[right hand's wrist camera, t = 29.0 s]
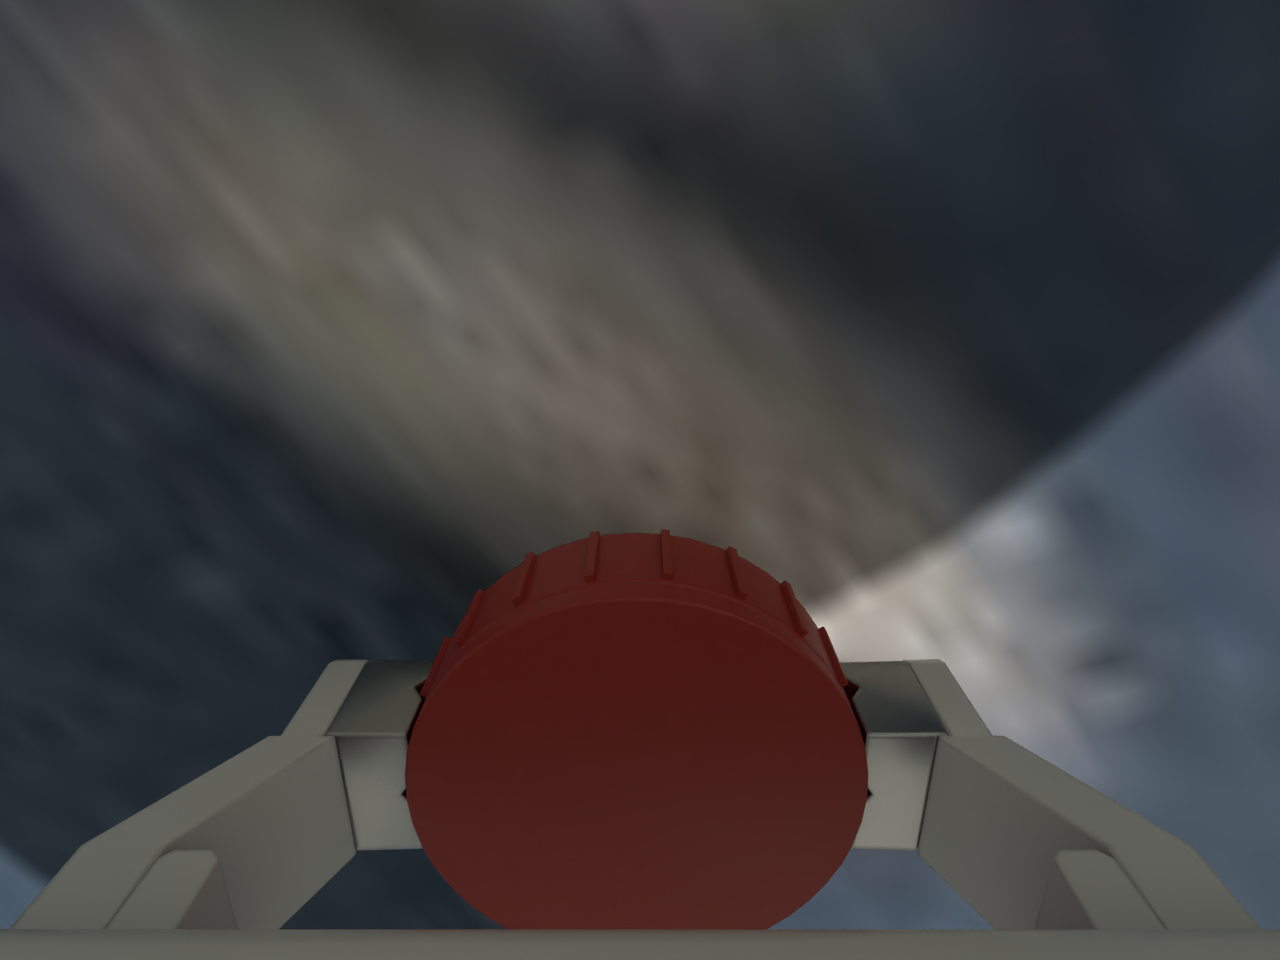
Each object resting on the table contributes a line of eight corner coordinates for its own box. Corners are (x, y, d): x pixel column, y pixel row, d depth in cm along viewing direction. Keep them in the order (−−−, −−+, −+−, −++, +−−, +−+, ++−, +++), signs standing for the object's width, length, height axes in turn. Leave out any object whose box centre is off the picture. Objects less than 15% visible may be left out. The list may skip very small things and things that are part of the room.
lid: (351, 679, 10) (298, 767, 9) (678, 441, 9) (685, 494, 7) (607, 912, 12) (600, 1020, 10) (914, 737, 11) (961, 832, 9)
